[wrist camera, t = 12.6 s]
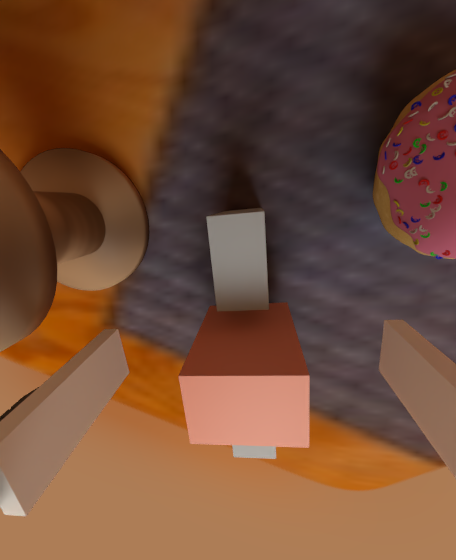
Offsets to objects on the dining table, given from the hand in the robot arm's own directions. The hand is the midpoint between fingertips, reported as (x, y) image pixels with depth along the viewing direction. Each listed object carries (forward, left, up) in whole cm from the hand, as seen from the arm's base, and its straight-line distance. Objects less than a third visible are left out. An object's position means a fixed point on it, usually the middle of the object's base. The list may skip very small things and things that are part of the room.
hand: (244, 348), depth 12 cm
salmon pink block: (+1, 0, -4) cm, 4 cm away
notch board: (0, 0, -7) cm, 7 cm away
